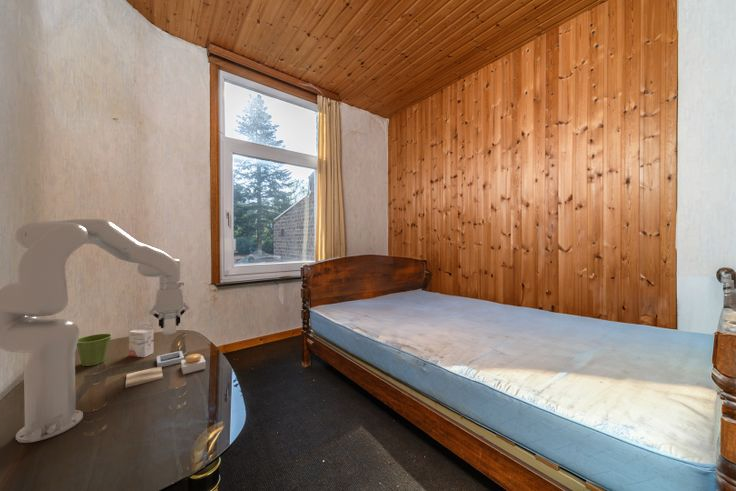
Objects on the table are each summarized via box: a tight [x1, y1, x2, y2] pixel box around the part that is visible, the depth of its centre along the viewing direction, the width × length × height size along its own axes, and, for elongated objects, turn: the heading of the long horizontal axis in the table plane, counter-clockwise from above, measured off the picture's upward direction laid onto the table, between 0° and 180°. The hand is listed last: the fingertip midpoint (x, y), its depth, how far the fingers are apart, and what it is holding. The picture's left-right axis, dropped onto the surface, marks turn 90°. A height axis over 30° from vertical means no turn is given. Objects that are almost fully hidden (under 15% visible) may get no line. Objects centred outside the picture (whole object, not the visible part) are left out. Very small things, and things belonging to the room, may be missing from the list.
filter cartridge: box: [162, 311, 177, 335], centre depth 120 cm, size 5×5×9 cm
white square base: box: [180, 354, 207, 375], centre depth 115 cm, size 8×8×3 cm
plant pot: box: [76, 333, 113, 367], centre depth 119 cm, size 12×12×11 cm
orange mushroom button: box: [184, 353, 202, 363], centre depth 115 cm, size 6×6×4 cm
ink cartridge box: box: [128, 322, 155, 358], centre depth 127 cm, size 9×5×15 cm, turn 84°
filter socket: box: [156, 350, 185, 368], centre depth 121 cm, size 9×9×2 cm
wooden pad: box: [124, 366, 164, 388], centre depth 107 cm, size 11×11×1 cm
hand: (169, 326), depth 120 cm, fingers closed on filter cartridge, 5 cm apart
